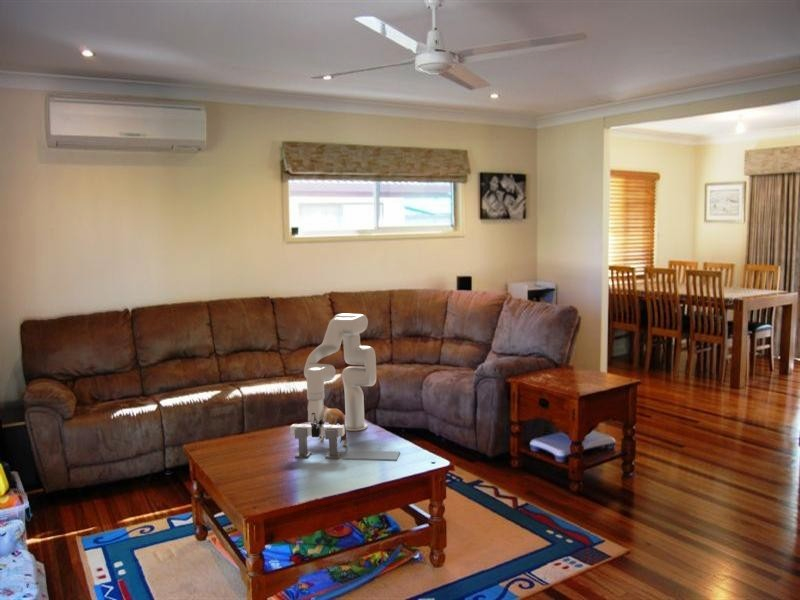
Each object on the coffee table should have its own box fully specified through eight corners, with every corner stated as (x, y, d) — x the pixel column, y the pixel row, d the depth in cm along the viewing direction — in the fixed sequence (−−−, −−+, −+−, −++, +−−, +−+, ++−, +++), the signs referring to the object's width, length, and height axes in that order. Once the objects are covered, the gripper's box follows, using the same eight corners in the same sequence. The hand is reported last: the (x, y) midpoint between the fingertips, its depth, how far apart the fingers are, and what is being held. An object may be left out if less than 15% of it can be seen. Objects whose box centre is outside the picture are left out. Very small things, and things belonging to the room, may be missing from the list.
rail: (293, 432, 305) (292, 423, 304) (344, 433, 301) (344, 424, 300) (290, 435, 301) (290, 426, 300) (342, 436, 297) (342, 427, 296)
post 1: (299, 452, 307) (298, 425, 306) (312, 453, 306) (311, 425, 305) (294, 458, 300) (293, 429, 299) (307, 458, 299) (306, 430, 298)
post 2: (329, 453, 305) (328, 425, 303) (342, 454, 304) (341, 426, 302) (325, 458, 298) (323, 430, 296) (338, 459, 297) (337, 430, 295)
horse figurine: (306, 437, 329) (304, 396, 327) (319, 434, 334) (318, 393, 332) (342, 453, 305) (340, 408, 303) (356, 449, 310) (354, 405, 308)
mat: (348, 451, 307) (348, 450, 307) (400, 452, 303) (400, 451, 303) (342, 459, 297) (342, 457, 297) (396, 460, 293) (396, 459, 293)
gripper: (313, 390, 308) (315, 428, 310) (301, 400, 291) (303, 440, 293) (329, 390, 307) (330, 428, 309) (318, 400, 290) (320, 441, 292)
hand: (317, 434), depth 301 cm, fingers open, 6 cm apart
